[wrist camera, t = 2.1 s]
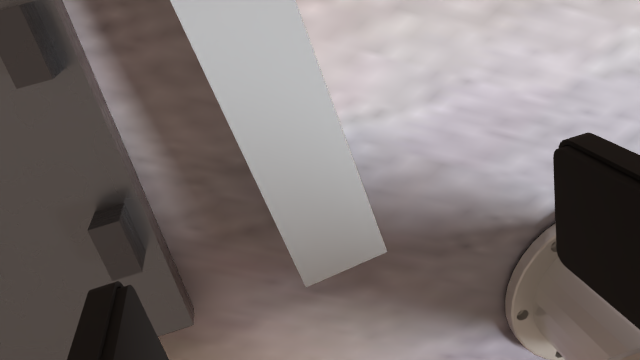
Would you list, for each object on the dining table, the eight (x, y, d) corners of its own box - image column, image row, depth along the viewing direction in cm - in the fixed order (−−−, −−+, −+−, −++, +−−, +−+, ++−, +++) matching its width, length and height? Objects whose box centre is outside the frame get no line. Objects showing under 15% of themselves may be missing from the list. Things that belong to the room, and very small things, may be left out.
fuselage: (234, -119, 24) (252, -155, 16) (360, 213, 32) (412, 295, 24) (141, -82, 23) (114, -99, 16) (292, 242, 31) (322, 335, 24)
